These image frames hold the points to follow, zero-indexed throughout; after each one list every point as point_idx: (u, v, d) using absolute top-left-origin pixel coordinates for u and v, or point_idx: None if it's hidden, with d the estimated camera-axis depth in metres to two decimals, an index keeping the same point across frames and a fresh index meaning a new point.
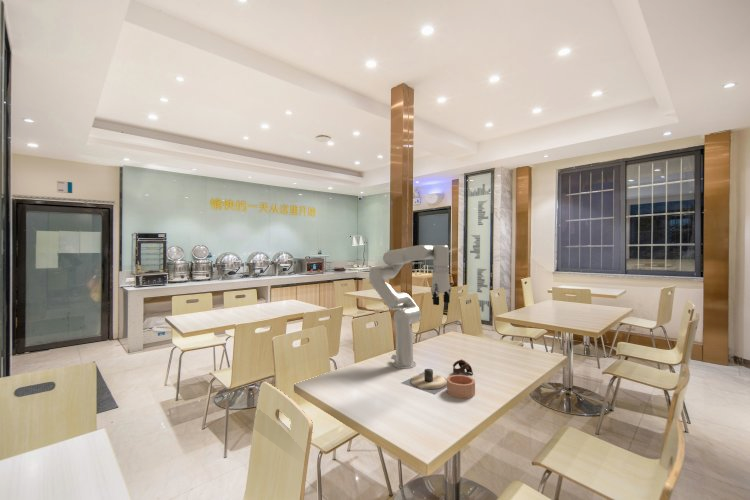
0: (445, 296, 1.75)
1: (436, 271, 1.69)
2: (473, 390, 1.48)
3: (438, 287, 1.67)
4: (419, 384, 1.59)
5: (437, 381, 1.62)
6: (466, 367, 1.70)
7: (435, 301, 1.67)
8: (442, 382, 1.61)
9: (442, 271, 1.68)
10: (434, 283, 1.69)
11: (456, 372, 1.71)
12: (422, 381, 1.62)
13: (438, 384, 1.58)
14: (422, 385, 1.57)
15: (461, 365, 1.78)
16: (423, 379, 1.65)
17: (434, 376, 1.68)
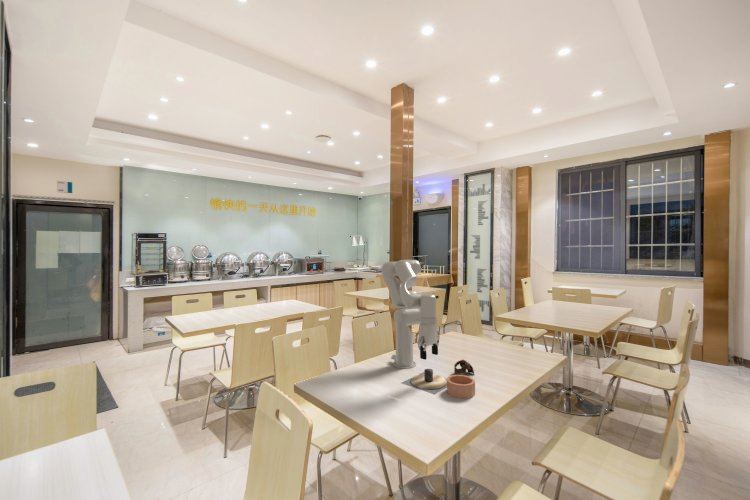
0: (433, 348, 1.66)
1: (423, 323, 1.60)
2: (473, 390, 1.48)
3: (425, 340, 1.58)
4: (419, 384, 1.59)
5: (437, 381, 1.62)
6: (467, 367, 1.70)
7: (422, 355, 1.58)
8: (442, 382, 1.61)
9: (429, 323, 1.59)
10: (421, 336, 1.59)
11: (457, 372, 1.71)
12: (422, 381, 1.62)
13: (438, 384, 1.58)
14: (422, 385, 1.57)
15: (462, 365, 1.77)
16: (423, 379, 1.65)
17: (434, 376, 1.68)
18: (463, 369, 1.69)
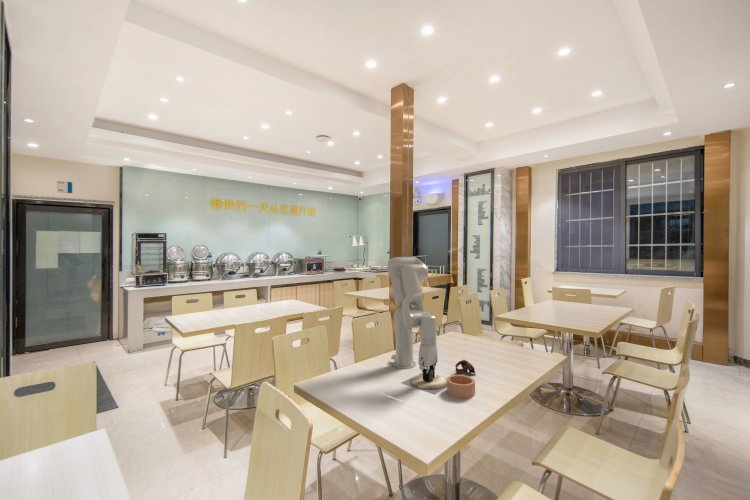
0: None
1: (423, 344, 1.61)
2: (473, 390, 1.48)
3: None
4: (419, 384, 1.59)
5: (437, 381, 1.62)
6: (469, 367, 1.70)
7: (425, 377, 1.60)
8: (442, 382, 1.61)
9: (429, 344, 1.59)
10: (421, 357, 1.60)
11: (459, 372, 1.71)
12: (422, 381, 1.62)
13: (438, 384, 1.58)
14: (422, 385, 1.57)
15: (463, 365, 1.77)
16: None
17: None
18: (464, 369, 1.69)
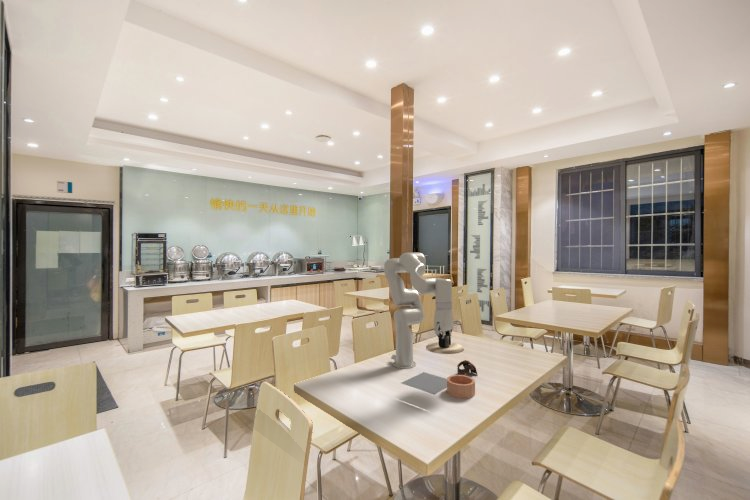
0: None
1: (438, 308, 1.55)
2: (473, 390, 1.48)
3: None
4: (435, 349, 1.52)
5: (453, 347, 1.56)
6: (471, 368, 1.69)
7: (441, 343, 1.54)
8: (459, 348, 1.54)
9: (445, 308, 1.53)
10: (436, 321, 1.54)
11: (461, 373, 1.70)
12: (438, 347, 1.56)
13: (455, 349, 1.52)
14: (438, 350, 1.51)
15: (465, 366, 1.77)
16: (438, 345, 1.59)
17: None
18: (466, 369, 1.69)
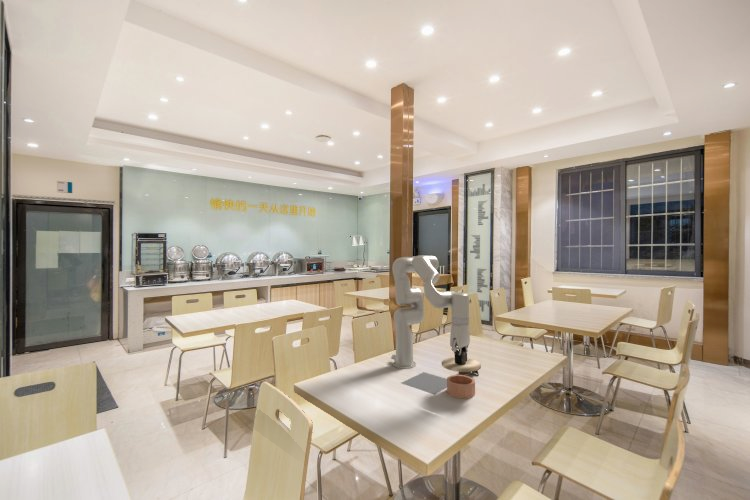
0: None
1: (455, 323, 1.49)
2: (473, 390, 1.48)
3: None
4: (452, 367, 1.47)
5: (470, 364, 1.50)
6: None
7: (457, 360, 1.49)
8: (476, 365, 1.49)
9: (462, 324, 1.48)
10: (453, 337, 1.48)
11: (462, 373, 1.70)
12: (454, 364, 1.50)
13: (473, 366, 1.47)
14: (455, 367, 1.46)
15: None
16: (454, 362, 1.53)
17: None
18: None
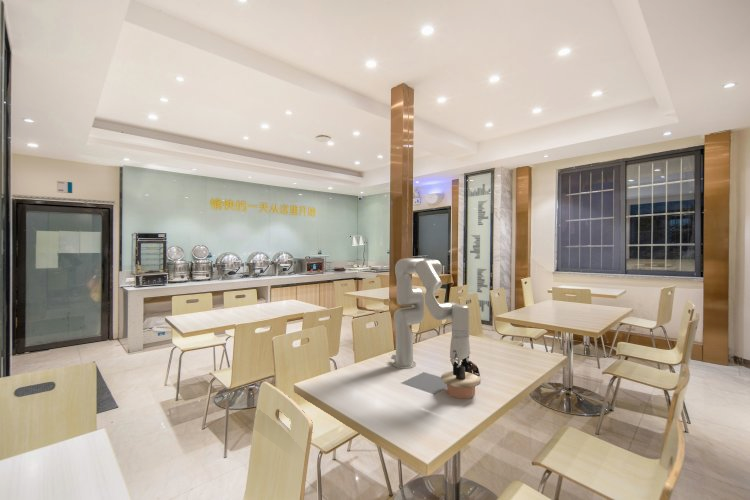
0: (463, 364, 1.54)
1: (455, 336, 1.49)
2: (473, 390, 1.48)
3: (458, 357, 1.47)
4: (451, 382, 1.47)
5: (470, 378, 1.50)
6: (473, 368, 1.69)
7: (456, 372, 1.48)
8: (475, 380, 1.49)
9: (462, 336, 1.48)
10: (453, 350, 1.48)
11: None
12: (454, 379, 1.51)
13: (472, 382, 1.47)
14: (455, 383, 1.46)
15: None
16: (454, 376, 1.53)
17: (465, 373, 1.57)
18: (469, 370, 1.68)
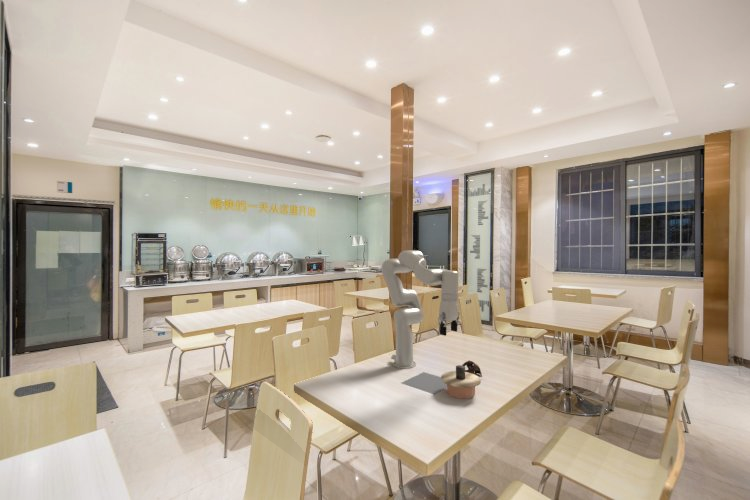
0: (453, 324, 1.64)
1: (444, 299, 1.57)
2: (473, 390, 1.48)
3: (446, 316, 1.55)
4: (451, 382, 1.47)
5: (470, 378, 1.50)
6: (475, 368, 1.69)
7: (442, 331, 1.56)
8: (475, 380, 1.49)
9: (451, 299, 1.56)
10: (441, 312, 1.57)
11: None
12: (454, 379, 1.51)
13: (472, 382, 1.47)
14: (455, 383, 1.46)
15: (469, 366, 1.76)
16: (454, 376, 1.53)
17: (465, 373, 1.57)
18: (471, 370, 1.68)
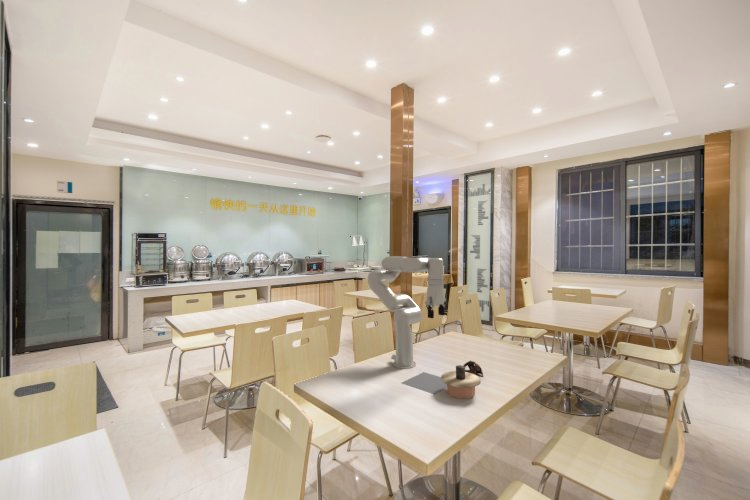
0: (440, 309, 1.75)
1: (431, 284, 1.69)
2: (473, 390, 1.48)
3: (433, 300, 1.67)
4: (451, 382, 1.47)
5: (470, 378, 1.50)
6: (477, 368, 1.68)
7: (430, 314, 1.67)
8: (475, 380, 1.49)
9: (437, 284, 1.68)
10: (429, 296, 1.68)
11: None
12: (454, 379, 1.51)
13: (472, 382, 1.47)
14: (455, 383, 1.46)
15: (470, 366, 1.76)
16: (454, 376, 1.53)
17: (465, 373, 1.57)
18: (472, 370, 1.67)
